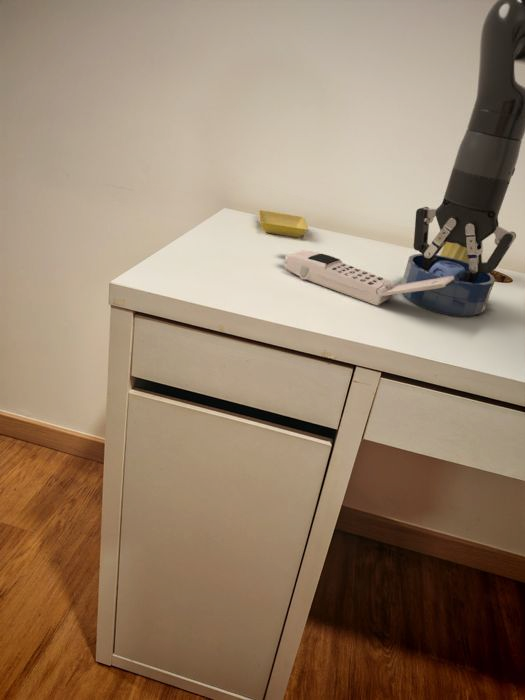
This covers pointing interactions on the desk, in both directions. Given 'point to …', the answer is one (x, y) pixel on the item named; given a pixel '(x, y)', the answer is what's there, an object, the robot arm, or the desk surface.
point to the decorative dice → (448, 270)
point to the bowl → (448, 289)
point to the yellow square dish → (282, 223)
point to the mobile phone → (352, 277)
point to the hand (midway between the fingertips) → (443, 288)
